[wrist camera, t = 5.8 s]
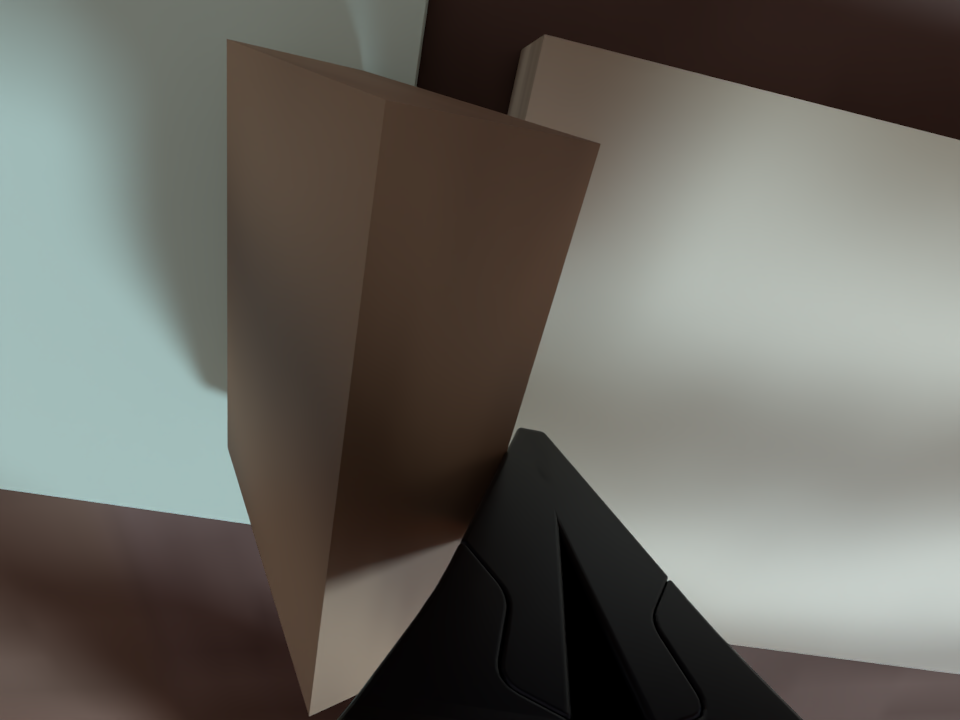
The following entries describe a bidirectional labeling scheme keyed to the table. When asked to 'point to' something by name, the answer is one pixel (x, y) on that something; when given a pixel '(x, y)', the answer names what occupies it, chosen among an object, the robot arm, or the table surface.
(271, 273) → the walnut block
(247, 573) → the table surface
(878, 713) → the table surface
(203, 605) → the table surface
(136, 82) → the sage mat
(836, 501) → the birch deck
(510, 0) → the table surface
